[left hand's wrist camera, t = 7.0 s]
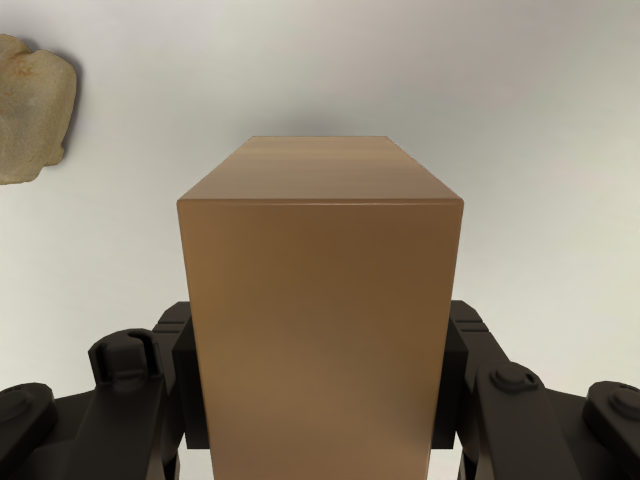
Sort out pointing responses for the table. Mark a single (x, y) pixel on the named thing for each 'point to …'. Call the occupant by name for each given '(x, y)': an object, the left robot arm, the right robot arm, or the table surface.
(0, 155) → the sculpture
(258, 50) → the table surface
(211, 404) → the beam
